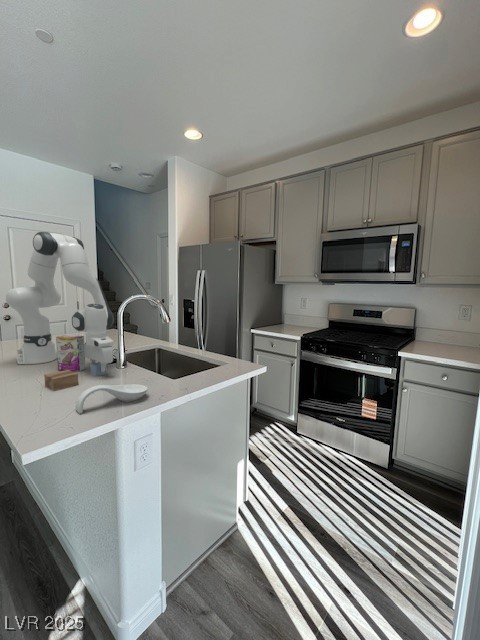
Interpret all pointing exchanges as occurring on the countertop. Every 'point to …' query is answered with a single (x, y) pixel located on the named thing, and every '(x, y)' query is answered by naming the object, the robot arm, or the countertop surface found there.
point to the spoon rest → (114, 393)
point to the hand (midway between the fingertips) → (98, 369)
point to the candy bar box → (70, 352)
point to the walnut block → (61, 380)
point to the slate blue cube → (97, 369)
